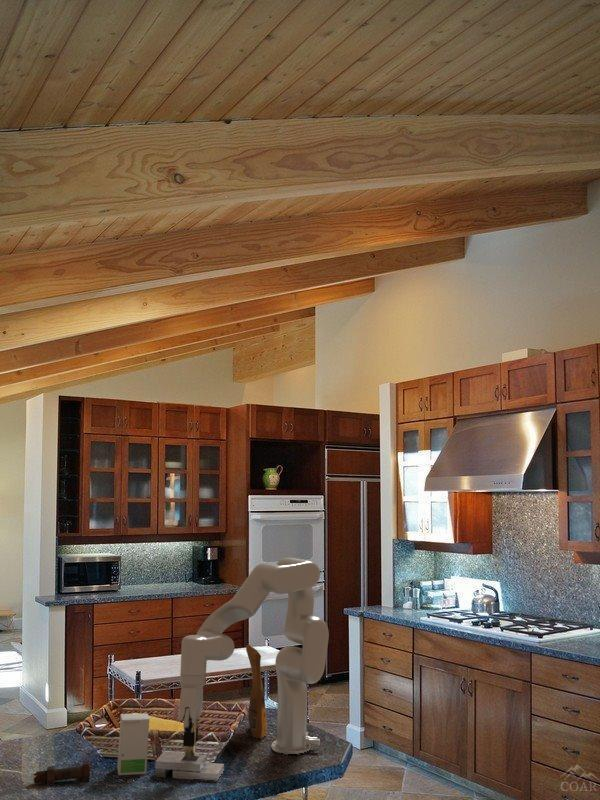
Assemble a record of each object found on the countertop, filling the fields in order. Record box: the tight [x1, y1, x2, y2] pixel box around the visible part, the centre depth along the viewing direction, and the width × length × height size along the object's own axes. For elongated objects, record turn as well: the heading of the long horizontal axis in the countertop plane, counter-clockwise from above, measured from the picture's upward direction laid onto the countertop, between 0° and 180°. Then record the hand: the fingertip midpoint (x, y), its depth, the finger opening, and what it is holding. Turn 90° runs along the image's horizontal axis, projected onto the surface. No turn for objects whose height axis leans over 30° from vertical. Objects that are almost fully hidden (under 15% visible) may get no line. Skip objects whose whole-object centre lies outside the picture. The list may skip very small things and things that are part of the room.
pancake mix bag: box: [245, 643, 268, 740], centre depth 275 cm, size 7×19×28 cm, turn 9°
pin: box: [184, 719, 197, 757], centre depth 235 cm, size 3×3×10 cm
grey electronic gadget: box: [154, 751, 225, 782], centre depth 235 cm, size 18×8×4 cm, turn 83°
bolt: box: [33, 759, 91, 786], centre depth 226 cm, size 6×5×15 cm
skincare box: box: [116, 712, 150, 776], centre depth 236 cm, size 8×7×16 cm
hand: (190, 743), depth 235 cm, fingers closed on pin, 3 cm apart
